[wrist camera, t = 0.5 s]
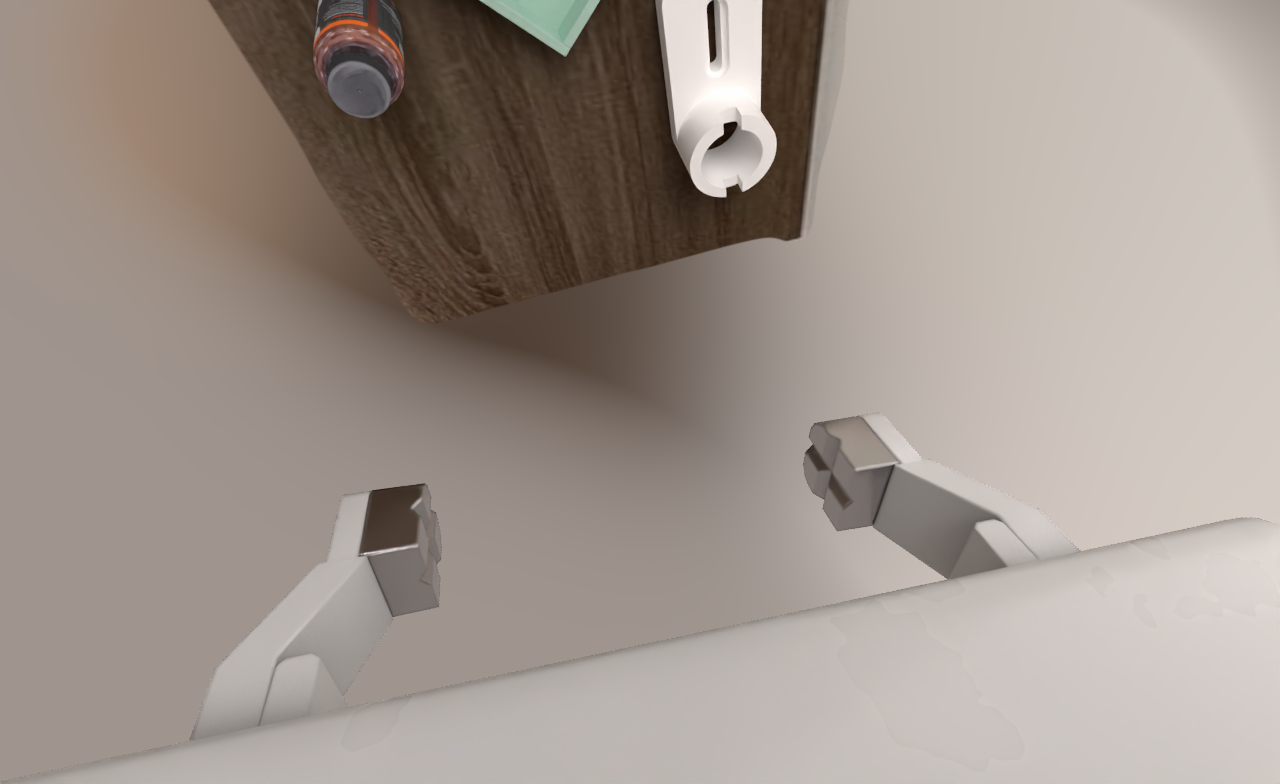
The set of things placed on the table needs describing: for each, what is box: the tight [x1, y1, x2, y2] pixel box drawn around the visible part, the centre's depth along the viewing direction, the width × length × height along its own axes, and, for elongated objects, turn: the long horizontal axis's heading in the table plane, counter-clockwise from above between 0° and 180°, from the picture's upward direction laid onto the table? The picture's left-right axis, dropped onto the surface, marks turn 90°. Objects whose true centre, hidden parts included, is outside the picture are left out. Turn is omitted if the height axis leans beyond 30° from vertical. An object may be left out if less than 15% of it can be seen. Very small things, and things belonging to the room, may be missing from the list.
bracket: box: [655, 0, 777, 197], centre depth 56 cm, size 20×9×7 cm, turn 9°
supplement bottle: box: [313, 0, 405, 118], centre depth 44 cm, size 6×6×11 cm
